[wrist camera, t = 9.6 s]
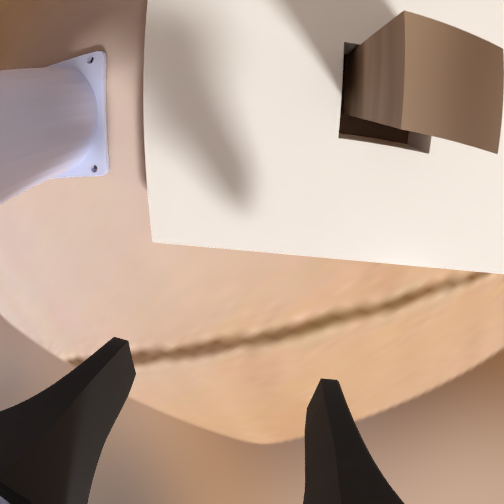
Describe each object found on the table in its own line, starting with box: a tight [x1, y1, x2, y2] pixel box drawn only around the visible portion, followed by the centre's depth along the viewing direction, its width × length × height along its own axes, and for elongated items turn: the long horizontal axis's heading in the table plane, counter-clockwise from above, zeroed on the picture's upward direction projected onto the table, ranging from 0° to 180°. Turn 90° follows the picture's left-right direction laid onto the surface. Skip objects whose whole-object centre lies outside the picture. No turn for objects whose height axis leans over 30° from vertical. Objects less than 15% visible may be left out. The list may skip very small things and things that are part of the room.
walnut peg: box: [343, 10, 504, 154], centre depth 9 cm, size 3×3×9 cm
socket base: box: [143, 0, 504, 274], centre depth 12 cm, size 22×16×3 cm
